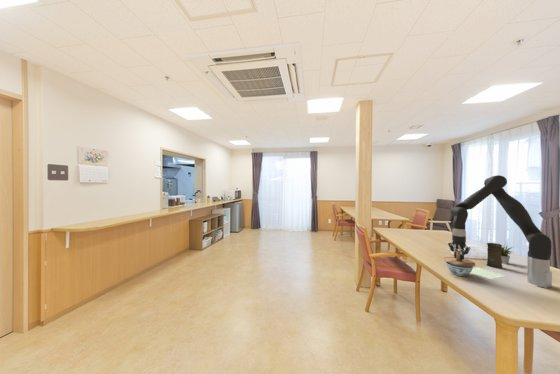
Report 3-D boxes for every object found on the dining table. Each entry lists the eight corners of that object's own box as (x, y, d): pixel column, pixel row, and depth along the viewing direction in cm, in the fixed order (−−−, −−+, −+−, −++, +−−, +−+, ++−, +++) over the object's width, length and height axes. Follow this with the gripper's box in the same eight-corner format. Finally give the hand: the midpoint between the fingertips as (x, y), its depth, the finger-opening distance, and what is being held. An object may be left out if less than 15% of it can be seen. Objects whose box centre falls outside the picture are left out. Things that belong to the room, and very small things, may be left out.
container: (504, 270, 161) (504, 246, 161) (487, 267, 166) (487, 244, 166) (501, 266, 168) (501, 243, 168) (485, 264, 173) (485, 242, 173)
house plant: (486, 260, 181) (486, 241, 181) (494, 258, 186) (493, 239, 186) (509, 266, 168) (509, 245, 168) (517, 263, 174) (517, 243, 173)
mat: (506, 276, 149) (506, 276, 149) (490, 280, 144) (490, 279, 144) (477, 267, 165) (477, 267, 165) (462, 270, 160) (462, 269, 160)
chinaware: (478, 280, 144) (478, 268, 144) (453, 278, 147) (453, 267, 147) (464, 271, 159) (464, 261, 159) (441, 269, 162) (441, 259, 162)
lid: (481, 265, 147) (481, 253, 147) (463, 268, 142) (463, 256, 142) (454, 257, 164) (454, 246, 164) (438, 259, 159) (438, 249, 159)
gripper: (473, 236, 147) (474, 261, 147) (452, 232, 161) (452, 255, 161) (466, 237, 145) (466, 262, 145) (445, 233, 159) (445, 256, 159)
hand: (459, 258), depth 153 cm, fingers closed on lid, 3 cm apart
